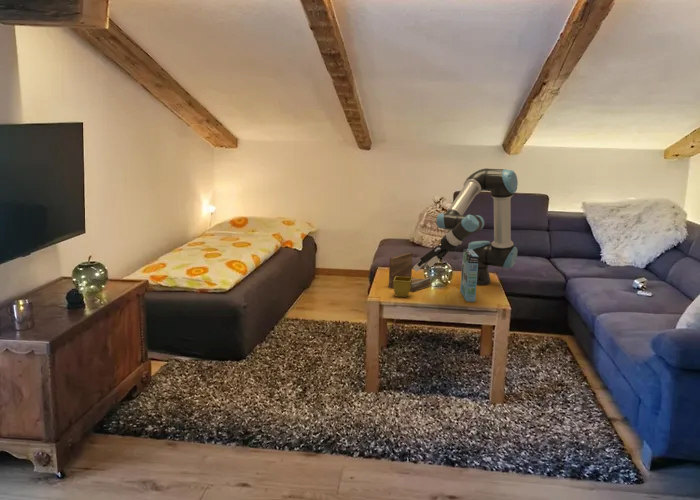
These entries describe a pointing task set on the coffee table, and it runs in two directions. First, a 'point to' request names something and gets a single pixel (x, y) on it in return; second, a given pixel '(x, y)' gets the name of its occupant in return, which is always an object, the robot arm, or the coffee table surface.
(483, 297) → the coffee table surface
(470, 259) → the blue cardboard box
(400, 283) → the flower pot
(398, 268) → the wooden shelf
